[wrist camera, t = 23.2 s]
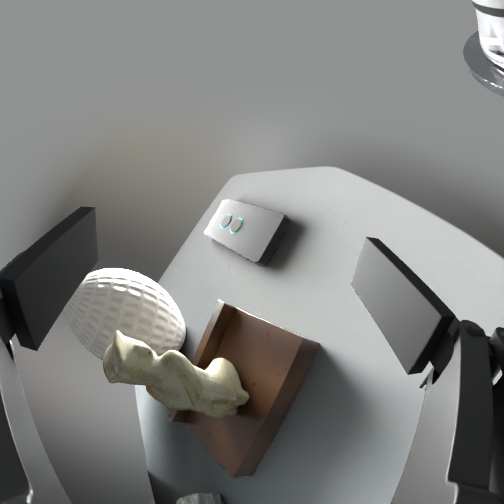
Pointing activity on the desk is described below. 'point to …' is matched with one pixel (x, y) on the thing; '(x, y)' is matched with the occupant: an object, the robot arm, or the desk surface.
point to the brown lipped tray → (248, 385)
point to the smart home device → (248, 229)
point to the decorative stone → (201, 499)
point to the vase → (124, 312)
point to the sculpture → (175, 378)
